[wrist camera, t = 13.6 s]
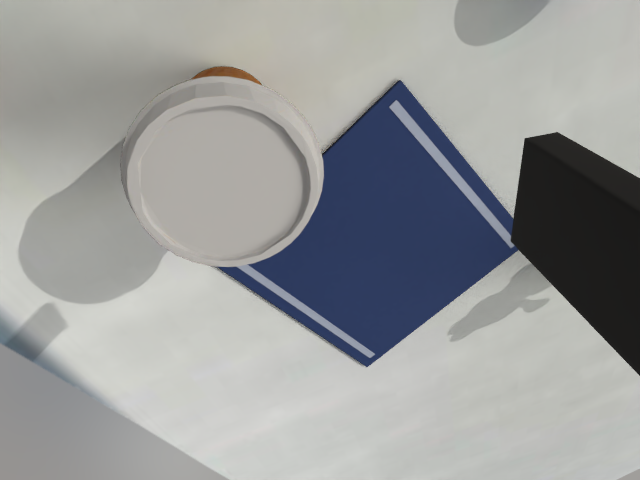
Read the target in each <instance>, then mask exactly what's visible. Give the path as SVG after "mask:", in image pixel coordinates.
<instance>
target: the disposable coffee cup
mask: <svg viewBox="0 0 640 480" xmlns="http://www.w3.org/2000/svg"><path fill="white" fill-rule="evenodd" d="M120 166H121V180H122V183H123V187H124V191H125V194H126V197H127V199H128V202H129V204H130V206H131V208H132V210H133V211H134V213H135V214H136V216H137V218H138V220H139V221H140V223H141V224H142V226H143V227H144V229H145V230H146V231H147V232H148V233H149V234H150V235H151V236H152V237H153V238H154V239H155V240H156V241H157V243H158V244H160V245H161V246H163V247H165V248H166V249H168V250H169V251H171V252H172V253H174V254H175V255H177V256H180V257H182V258H184V259H187V260H189V261H192V262H195V263H199V264H204V265H208V266H217V267H235V266H242V265H247V264H252V263H256V262H259V261H261V260H264V259H266V258H269V257H271V256H273V255H275V254H276V253H278V252H280V251H281V250H283V249H284V248H285V247H287V246H288V245H289V244H291V243H292V242H293V241H294V240H295V239H296V238H297V236H298V235H299V234H300V233H301V232H302V230H303V229H304V227H305V226H306V225H307V223H308V222H309V220H310V217H311V216H312V214H313V212H314V210H315V208H316V206H317V204H318V201H319V198H320V195H321V192H322V186H323V178H324V167H323V158H322V154H321V150H320V146H319V142H318V140H317V138H316V136H315V134H314V131H313V129H312V128H311V126H310V125H309V123H308V122H307V120H306V119H305V117H304V116H303V115H302V114H301V112H300V111H299V110H298V109H297V108H296V107H295V106H294V105H293V104H292V103H290V102H289V101H288V100H286V99H285V98H284V97H282V96H281V95H280V94H278V93H277V92H275V91H274V90H272V89H269V88H267V87H265V86H263V85H262V84H261V83H260V82H259V81H258V80H257V79H255V78H254V77H253V76H252V75H250V74H248V73H247V72H245V71H243V70H239V69H236V68H233V67H222V66H221V67H214V68H210V69H207V70H204V71H202V72H200V73H198V74H197V75H196V76H194V77H193V78H192V79H191V80H188V81H185V82H182V83H180V84H177V85H175V86H173V87H171V88H169V89H167V90H166V91H164V92H162V93H160V94H159V95H157V96H156V97H155V98H154V99H153V100H152V101H151V102H150V103H149V104H148V105H147V106H145V107H144V108H143V109H142V110H141V111H140V112H139V114H138V115H137V117H136V118H135V120H134V122H133V123H132V125H131V126H130V128H129V130H128V133H127V135H126V138H125V141H124V144H123V147H122V154H121V163H120Z"/></svg>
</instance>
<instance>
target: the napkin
mask: <svg viewBox="0 0 640 480" xmlns="http://www.w3.org/2000/svg"><path fill="white" fill-rule="evenodd" d="M322 158H323V167H324V178H323V186H322V192H321V195H320V198H319V201H318V204H317V206H316V208H315V210H314V212H313V214H312V216H311V217H310V220H309V222H308V223H307V225H306V226H305V227H304V229H303V230H302V232H301V233H300V234H299V235H298V236H297V238H296V239H295V240H294V241H293V242H292V243H291V244H289V245H288V246H287V247H285V248H284V249H283V250H281V251H280V252H278V253H276V254H275V255H273V256H271V257H269V258H266V259H264V260H261V261H259V262H256V263H252V264H247V265H242V266H235V267H218V268H219V269H221V270H222V271H224V272H225V273H227V274H228V275H230V276H231V277H233V278H234V279H236V280H237V281H239V282H240V283H242V284H243V285H245V286H246V287H248V288H249V289H251V290H252V291H254V292H255V293H257V294H258V295H260V296H261V297H263V298H264V299H266V300H267V301H269V302H270V303H272V304H273V305H275V306H276V307H278V308H279V309H281V310H282V311H284V312H285V313H287V314H288V315H290V316H291V317H293V318H294V319H296V320H297V321H299V322H300V323H302V324H303V325H305V326H306V327H308V328H309V329H311V330H312V331H314V332H315V333H317V334H318V335H320V336H321V337H323V338H324V339H326V340H327V341H329V342H330V343H332V344H333V345H335V346H336V347H338V348H339V349H341V350H342V351H344V352H345V353H347V354H348V355H350V356H351V357H353V358H354V359H356V360H357V361H359V362H360V363H362V364H363V365H365V366H366V367H368V366H369V365H371V364H372V363H373V362H374V361H376V360H377V359H378V358H380V357H381V356H382V355H383V354H385V353H386V352H387V351H389V350H390V349H391V348H392V347H394V346H395V345H396V344H398V343H399V342H400V341H401V340H403V339H404V338H405V337H407V336H408V335H409V334H411V333H412V332H413V331H414V330H416V329H417V328H418V327H420V326H421V325H422V324H423V323H425V322H426V321H427V320H429V319H430V318H431V317H432V316H434V315H435V314H436V313H438V312H439V311H440V310H441V309H443V308H444V307H445V306H447V305H448V304H449V303H450V302H452V301H453V300H454V299H456V298H457V297H458V296H460V295H461V294H462V293H463V292H465V291H466V290H467V289H469V288H470V287H471V286H472V285H474V284H475V283H476V282H478V281H479V280H480V279H481V278H483V277H484V276H485V275H487V274H488V273H489V272H490V271H492V270H493V269H494V268H496V267H497V266H498V265H500V264H501V263H502V262H503V261H505V260H506V259H507V258H509V257H510V256H511V255H512V254H514V253H515V252H516V251H518V249H517V247H516V246H515V245H514V244H513V243H512V242H511V234H512V227H513V218H512V217H511V216H510V214H509V213H508V212H507V211H506V209H505V208H504V207H503V206H502V204H501V203H500V202H499V201H498V200H497V198H496V197H495V196H494V195H493V193H492V192H491V191H490V190H489V188H488V187H487V186H486V185H485V184H484V182H483V181H482V180H481V179H480V177H479V176H478V175H477V174H476V172H475V171H474V170H473V169H472V168H471V166H470V165H469V164H468V163H467V161H466V160H465V159H464V158H463V156H462V155H461V154H460V153H459V151H458V150H457V149H456V148H455V147H454V145H453V144H452V143H451V142H450V140H449V139H448V138H447V137H446V135H445V134H444V133H443V132H442V131H441V129H440V128H439V127H438V126H437V124H436V123H435V122H434V121H433V119H432V118H431V117H430V116H429V115H428V113H427V112H426V111H425V110H424V108H423V107H422V106H421V105H420V103H419V102H418V101H417V100H416V99H415V97H414V96H413V95H412V94H411V92H410V91H409V90H408V89H407V87H406V86H405V85H404V84H403V82H402V81H401V80H399V81H398V82H397V83H396V84H395V85H394V86H393V87H392V88H391V89H390V90H389V91H388V92H387V93H386V94H385V95H384V96H382V97H381V98H380V99H379V100H378V101H377V102H376V103H375V104H374V105H373V106H372V107H371V108H370V109H369V110H368V111H367V112H366V113H365V114H364V115H363V116H362V117H361V118H360V119H359V120H358V121H357V122H356V123H355V124H354V125H353V126H352V127H351V128H350V129H349V130H348V131H346V132H345V133H344V134H343V135H342V136H341V137H340V138H339V139H338V140H337V141H336V142H335V143H334V144H333V145H332V146H331V147H330V148H329V149H328V150H327V151H326V152H325V153H324V154H323V155H322ZM216 267H217V266H216Z"/></svg>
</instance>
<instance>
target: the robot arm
mask: <svg viewBox="0 0 640 480" xmlns="http://www.w3.org/2000/svg"><path fill="white" fill-rule="evenodd" d="M511 242H512V243H513V244H514V245H515V246H516V247H517V249H518V250H519V251H520V252H521V253H522V254H523V255H524V256H525V257H526V258H527V259H528V260H529V261H530V262H531V263H532V264H533V265H534V266H535V267H536V268H537V269H538V270H539V271H540V272H541V273H542V275H543V276H544V277H545V278H546V279H547V280H548V281H549V282H550V283H551V284H552V285H553V286H554V287H555V288H556V289H557V290H558V291H559V292H560V293H561V294H562V295H563V296H564V297H565V298H566V299H567V301H568V302H569V303H570V304H571V305H572V306H573V307H574V308H575V309H576V310H577V311H578V312H579V313H580V314H581V315H582V316H583V317H584V318H585V319H586V320H587V321H588V322H589V323H590V324H591V326H592V327H593V328H594V329H595V330H596V331H597V332H598V333H599V334H600V335H601V336H602V337H603V338H604V339H605V340H606V341H607V342H608V343H609V344H610V345H611V346H612V347H613V348H614V349H615V350H616V352H617V353H618V354H619V355H620V356H621V357H622V358H623V359H624V360H625V361H626V362H627V363H628V364H629V365H630V366H631V367H632V368H633V369H634V370H635V371H636V372H637V373H638V374H639V375H640V178H638V177H636V176H635V175H633V174H631V173H629V172H628V171H626V170H624V169H622V168H620V167H619V166H617V165H615V164H613V163H612V162H610V161H608V160H606V159H604V158H603V157H601V156H599V155H597V154H595V153H594V152H592V151H590V150H588V149H587V148H585V147H583V146H581V145H579V144H578V143H576V142H574V141H572V140H571V139H569V138H567V137H565V136H563V135H562V134H560V133H558V132H556V133H551V134H546V135H540V136H535V137H530V138H525V141H524V148H523V155H522V162H521V170H520V177H519V184H518V191H517V198H516V205H515V212H514V219H513V227H512V234H511Z"/></svg>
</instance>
